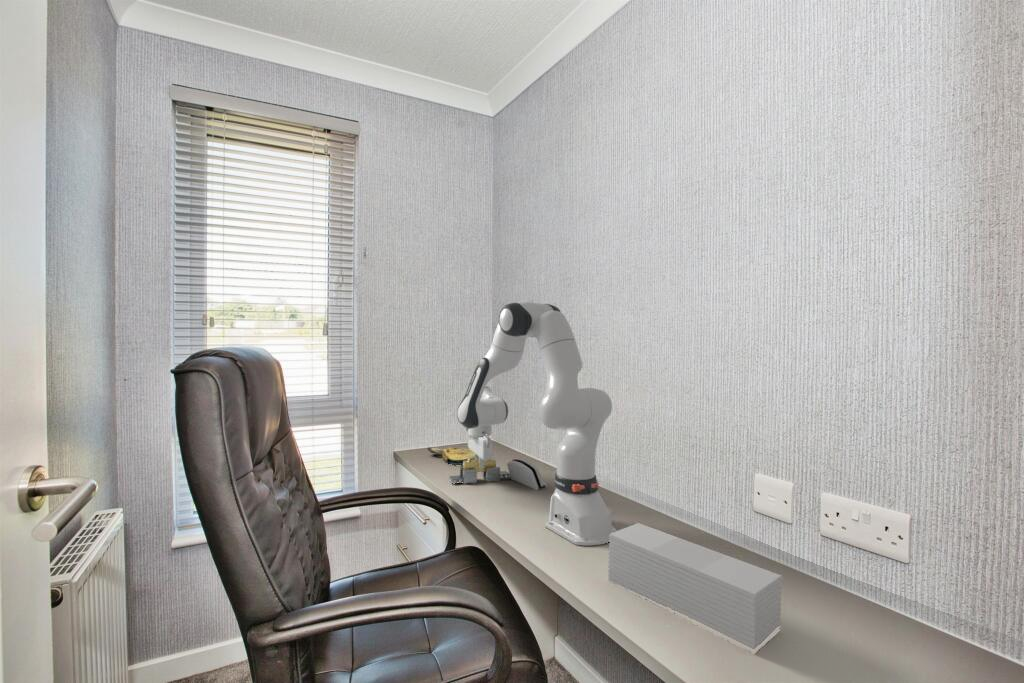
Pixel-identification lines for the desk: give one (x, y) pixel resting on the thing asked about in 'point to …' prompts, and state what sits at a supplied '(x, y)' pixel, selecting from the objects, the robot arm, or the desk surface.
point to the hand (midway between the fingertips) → (479, 466)
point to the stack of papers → (697, 582)
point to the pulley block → (454, 455)
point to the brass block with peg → (474, 464)
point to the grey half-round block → (525, 473)
